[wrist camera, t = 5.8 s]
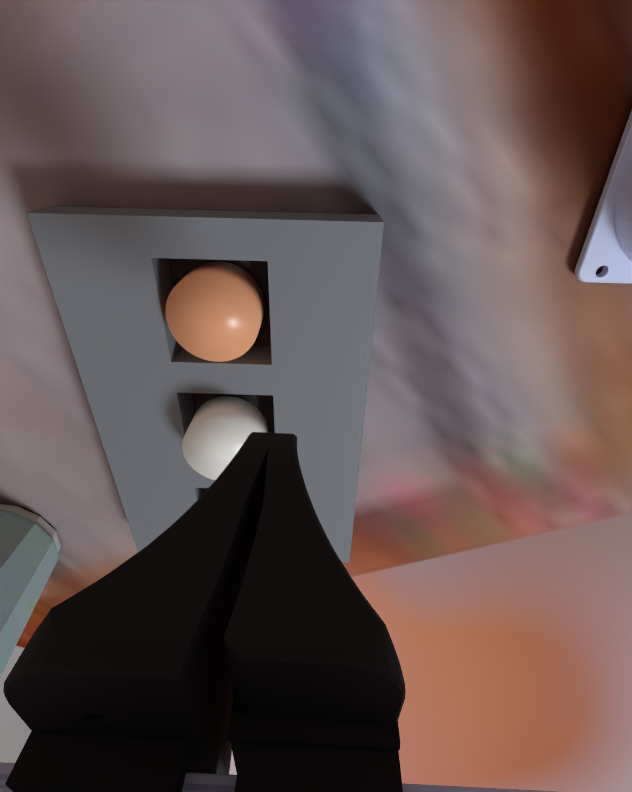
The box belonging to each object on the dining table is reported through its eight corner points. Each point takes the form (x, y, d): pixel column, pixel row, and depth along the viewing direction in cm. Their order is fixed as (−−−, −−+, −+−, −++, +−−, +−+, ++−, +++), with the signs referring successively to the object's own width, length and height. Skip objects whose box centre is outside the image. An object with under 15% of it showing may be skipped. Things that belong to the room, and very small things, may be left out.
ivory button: (266, 397, 21) (261, 420, 19) (269, 457, 23) (265, 483, 21) (188, 395, 21) (175, 417, 19) (198, 455, 23) (188, 480, 21)
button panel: (378, 214, 18) (384, 222, 16) (348, 537, 29) (349, 562, 27) (55, 205, 18) (26, 212, 16) (150, 530, 29) (138, 555, 27)
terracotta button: (262, 262, 18) (256, 274, 16) (266, 344, 20) (261, 363, 19) (173, 259, 18) (157, 272, 16) (186, 342, 20) (173, 360, 19)
